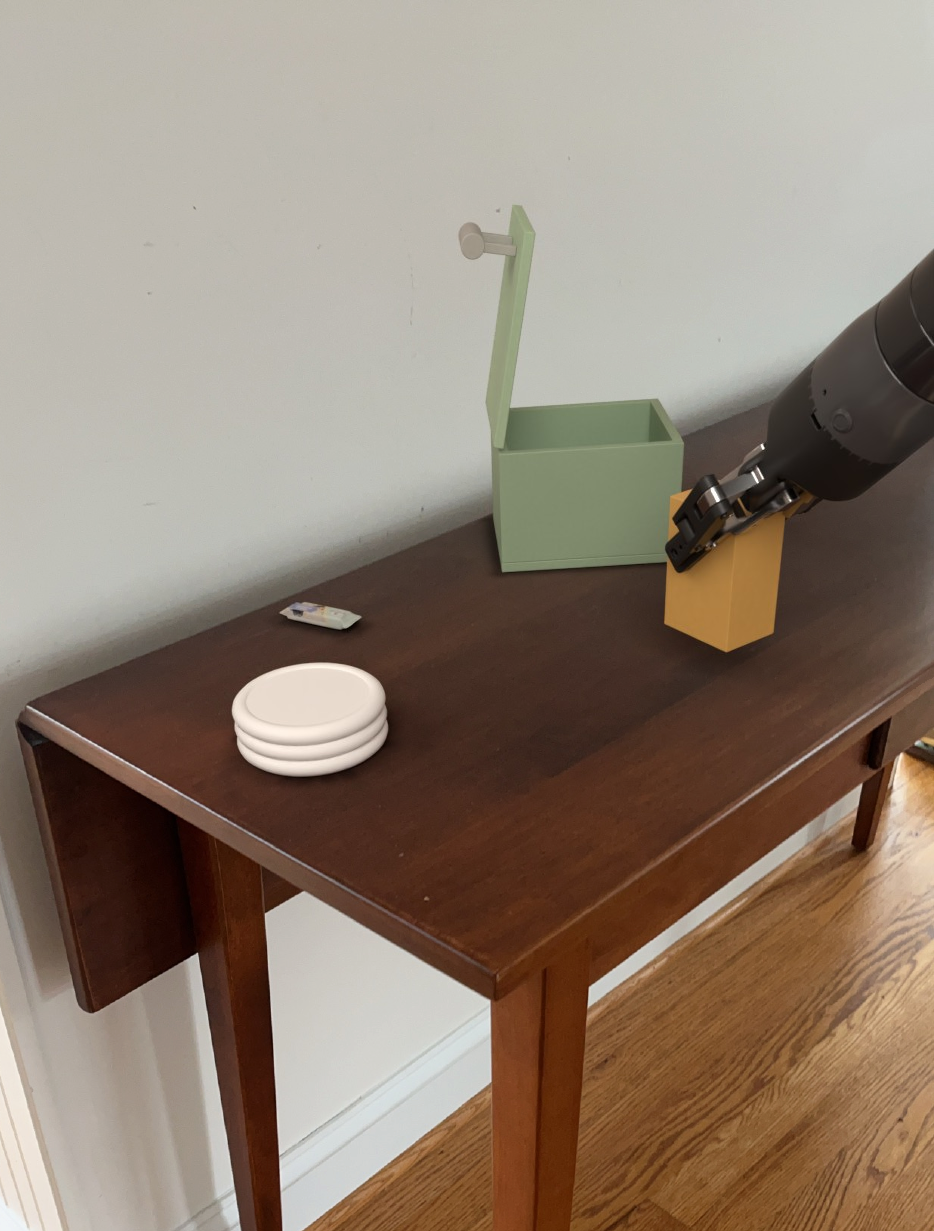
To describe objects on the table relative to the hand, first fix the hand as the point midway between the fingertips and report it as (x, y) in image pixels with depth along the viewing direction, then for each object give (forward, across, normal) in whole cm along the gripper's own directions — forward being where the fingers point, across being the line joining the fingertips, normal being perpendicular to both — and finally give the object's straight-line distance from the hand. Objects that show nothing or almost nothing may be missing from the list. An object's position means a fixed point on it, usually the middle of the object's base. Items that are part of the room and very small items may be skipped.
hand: (702, 549), depth 85 cm
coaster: (+12, +26, 0) cm, 29 cm away
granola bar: (+23, +17, -11) cm, 31 cm away
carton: (+2, 0, +5) cm, 6 cm away
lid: (+13, -5, -26) cm, 29 cm away
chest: (+23, -10, -11) cm, 27 cm away
